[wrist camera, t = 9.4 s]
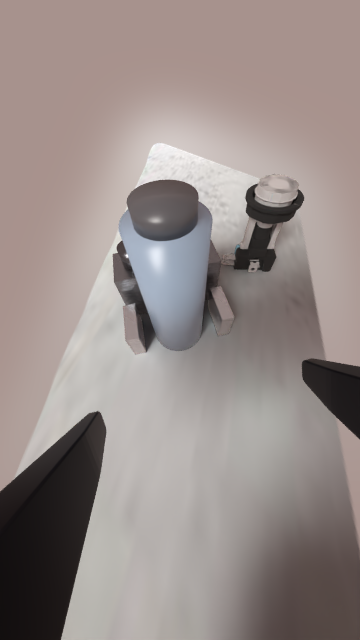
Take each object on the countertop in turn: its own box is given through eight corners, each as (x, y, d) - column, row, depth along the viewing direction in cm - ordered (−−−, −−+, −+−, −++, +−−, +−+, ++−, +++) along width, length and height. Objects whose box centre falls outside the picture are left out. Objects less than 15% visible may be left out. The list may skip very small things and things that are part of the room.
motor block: (228, 333, 21) (246, 285, 14) (135, 354, 21) (106, 314, 14) (205, 275, 26) (210, 218, 19) (128, 291, 25) (105, 237, 18)
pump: (207, 345, 21) (229, 217, 8) (159, 355, 20) (112, 238, 8) (195, 306, 23) (199, 167, 11) (152, 315, 23) (109, 181, 11)
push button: (221, 279, 25) (237, 200, 17) (220, 252, 28) (232, 171, 19) (273, 279, 25) (317, 198, 16) (267, 251, 28) (300, 169, 19)
